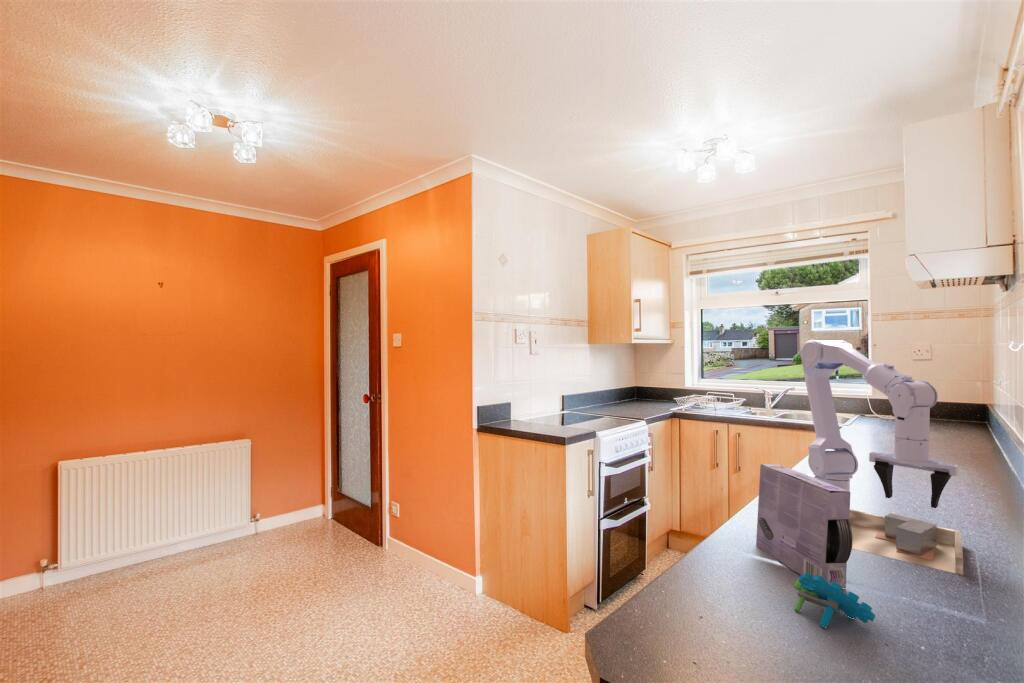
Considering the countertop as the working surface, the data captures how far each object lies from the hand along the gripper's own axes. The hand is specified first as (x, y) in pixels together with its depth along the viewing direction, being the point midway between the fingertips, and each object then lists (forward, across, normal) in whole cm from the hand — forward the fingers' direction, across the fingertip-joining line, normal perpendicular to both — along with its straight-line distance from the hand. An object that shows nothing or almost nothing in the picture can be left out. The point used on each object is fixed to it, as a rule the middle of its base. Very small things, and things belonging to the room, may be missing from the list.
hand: (910, 501), depth 103 cm
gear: (+9, 0, +46) cm, 47 cm away
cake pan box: (+10, +10, +31) cm, 34 cm away
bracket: (+8, 0, +3) cm, 9 cm away
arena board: (+9, +3, +4) cm, 11 cm away
